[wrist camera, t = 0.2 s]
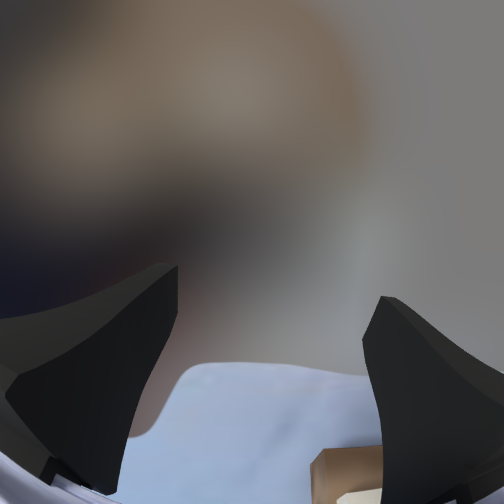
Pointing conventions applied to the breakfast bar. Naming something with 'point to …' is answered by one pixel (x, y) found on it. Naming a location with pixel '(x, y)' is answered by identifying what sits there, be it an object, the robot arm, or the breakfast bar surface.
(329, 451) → the tan wooden board
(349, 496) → the cream tile
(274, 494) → the breakfast bar surface
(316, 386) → the breakfast bar surface
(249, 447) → the breakfast bar surface
